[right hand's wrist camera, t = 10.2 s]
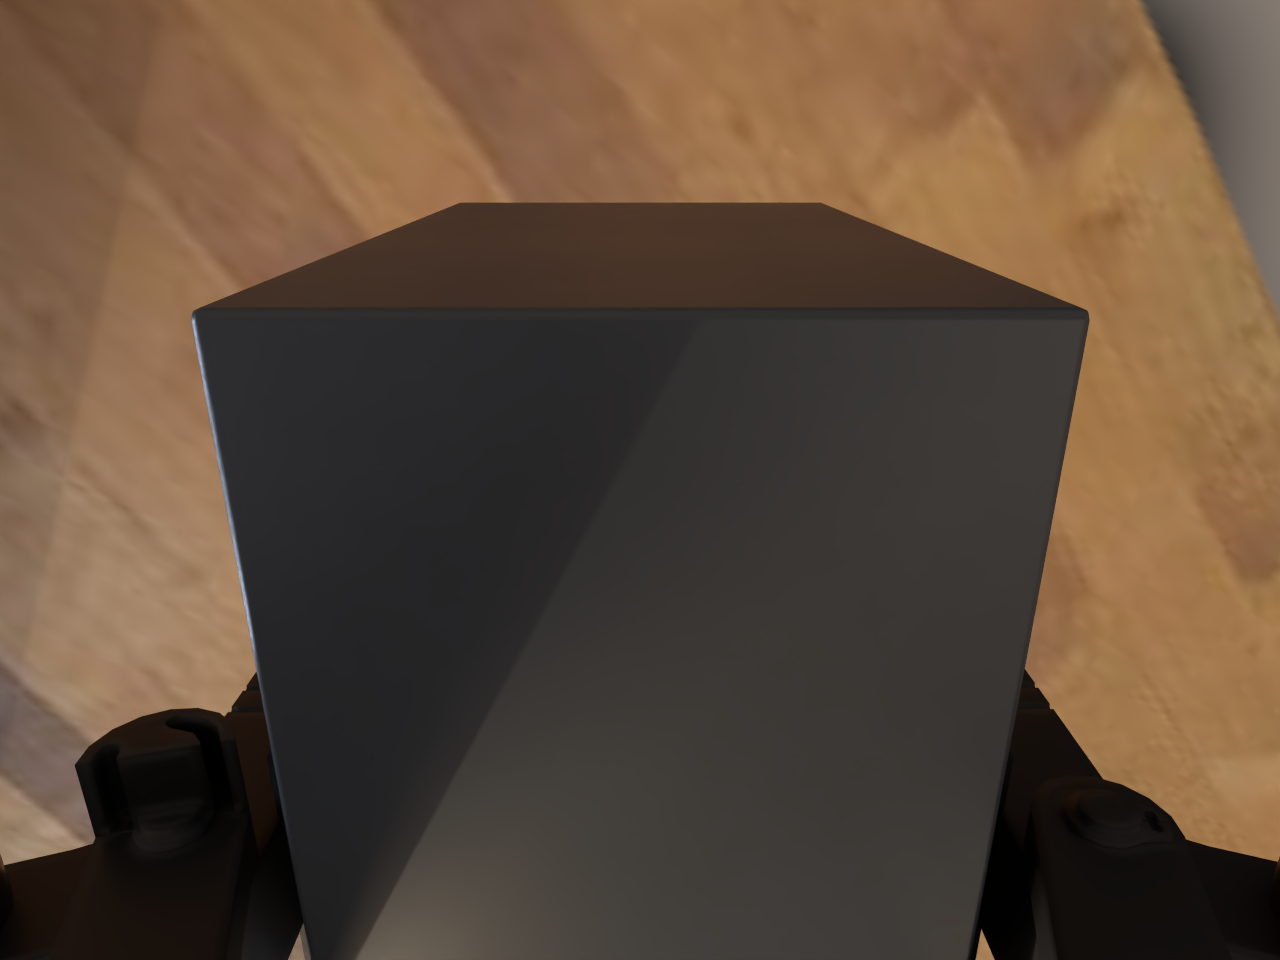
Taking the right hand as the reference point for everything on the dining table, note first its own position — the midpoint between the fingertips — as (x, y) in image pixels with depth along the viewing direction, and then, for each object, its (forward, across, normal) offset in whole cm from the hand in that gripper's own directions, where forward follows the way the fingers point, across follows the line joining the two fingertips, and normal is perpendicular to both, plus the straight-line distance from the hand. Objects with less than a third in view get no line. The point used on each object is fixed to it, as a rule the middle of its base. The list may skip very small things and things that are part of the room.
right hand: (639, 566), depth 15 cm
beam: (+1, 0, -20) cm, 20 cm away
